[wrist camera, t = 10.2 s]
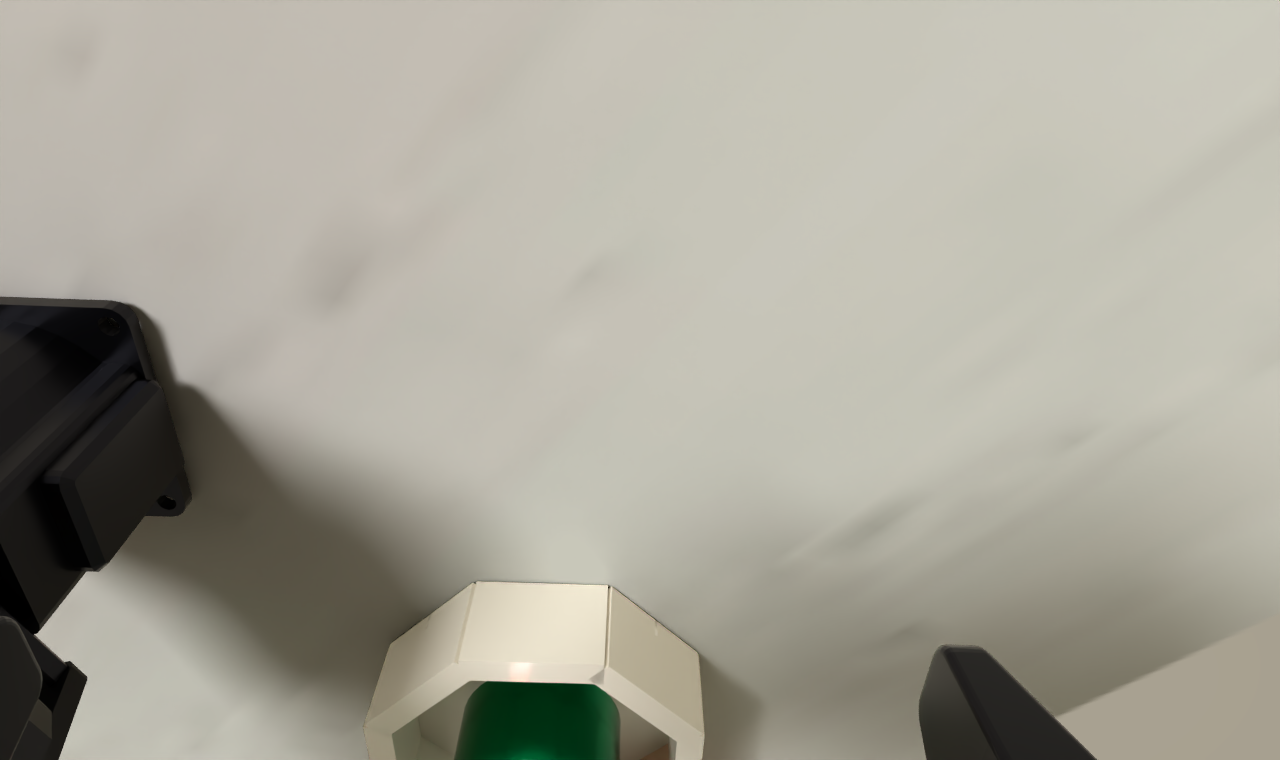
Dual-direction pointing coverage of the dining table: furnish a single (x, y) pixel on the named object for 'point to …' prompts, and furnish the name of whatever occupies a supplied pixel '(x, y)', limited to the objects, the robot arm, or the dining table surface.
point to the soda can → (539, 723)
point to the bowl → (537, 668)
